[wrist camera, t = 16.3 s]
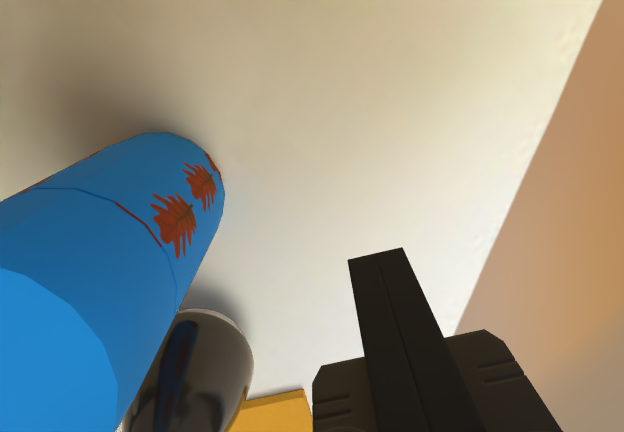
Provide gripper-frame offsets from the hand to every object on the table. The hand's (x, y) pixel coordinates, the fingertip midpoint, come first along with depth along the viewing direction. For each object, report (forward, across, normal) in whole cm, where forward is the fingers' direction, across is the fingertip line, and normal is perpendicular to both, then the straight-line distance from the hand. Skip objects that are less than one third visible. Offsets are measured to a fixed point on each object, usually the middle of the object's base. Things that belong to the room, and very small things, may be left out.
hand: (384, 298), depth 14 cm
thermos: (+29, -15, -2) cm, 32 cm away
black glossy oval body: (+29, -16, -16) cm, 37 cm away
